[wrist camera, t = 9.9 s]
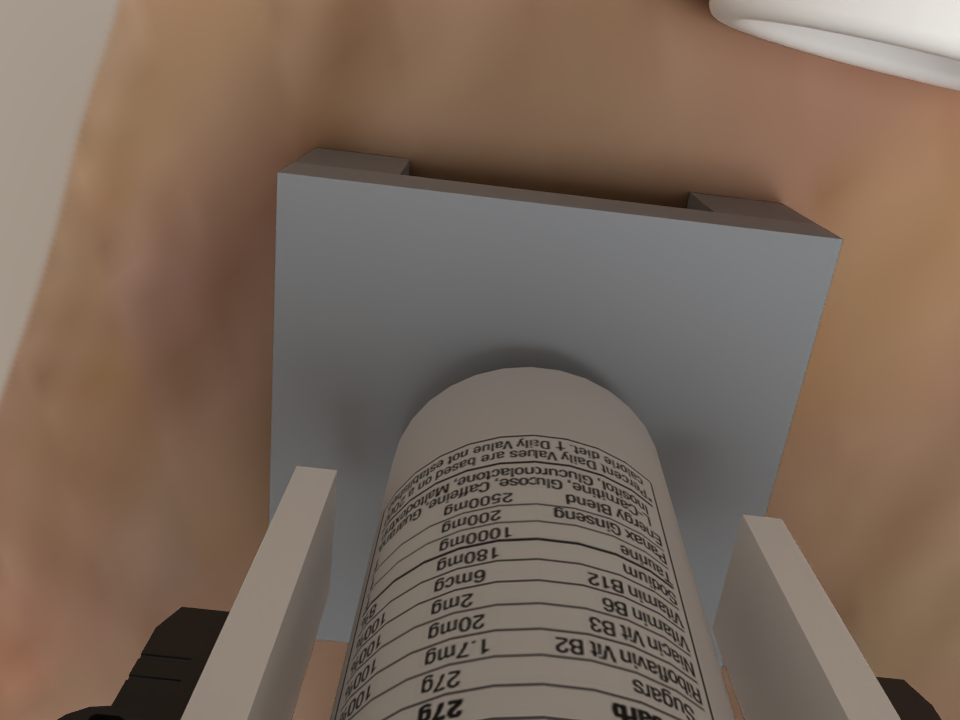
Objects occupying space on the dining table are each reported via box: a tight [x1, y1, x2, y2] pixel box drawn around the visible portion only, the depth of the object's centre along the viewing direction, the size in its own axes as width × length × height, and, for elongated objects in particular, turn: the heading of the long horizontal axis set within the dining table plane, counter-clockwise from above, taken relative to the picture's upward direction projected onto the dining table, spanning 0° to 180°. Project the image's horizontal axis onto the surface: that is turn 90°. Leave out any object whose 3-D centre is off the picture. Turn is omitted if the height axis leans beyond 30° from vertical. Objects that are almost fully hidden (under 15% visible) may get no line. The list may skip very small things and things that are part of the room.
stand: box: [269, 148, 843, 670], centre depth 21 cm, size 12×12×4 cm
